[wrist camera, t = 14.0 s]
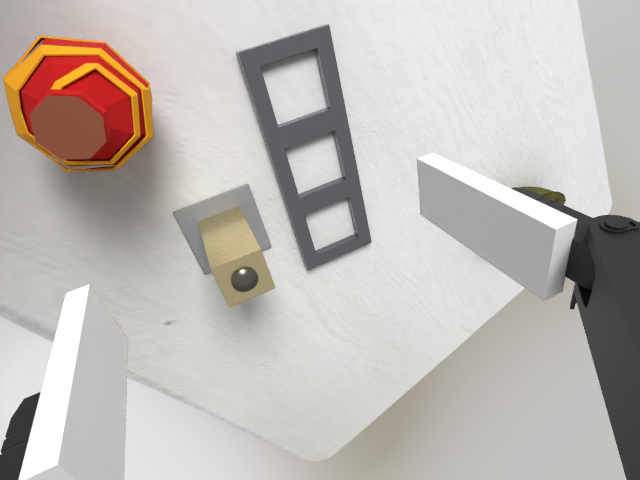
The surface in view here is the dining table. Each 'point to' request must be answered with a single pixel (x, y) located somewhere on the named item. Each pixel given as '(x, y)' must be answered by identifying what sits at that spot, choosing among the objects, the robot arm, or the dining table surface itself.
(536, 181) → the dining table surface
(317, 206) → the grey triple frame
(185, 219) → the pad
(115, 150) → the potion bottle
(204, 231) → the brass block with knob
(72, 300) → the robot arm
